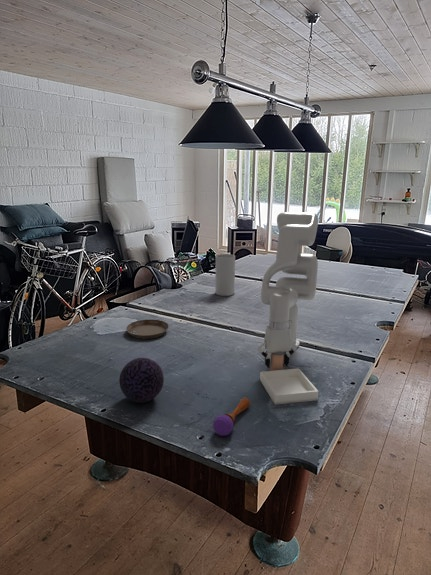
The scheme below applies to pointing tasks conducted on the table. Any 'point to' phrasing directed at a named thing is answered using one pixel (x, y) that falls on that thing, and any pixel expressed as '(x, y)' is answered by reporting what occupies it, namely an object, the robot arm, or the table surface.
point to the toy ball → (141, 380)
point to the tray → (288, 386)
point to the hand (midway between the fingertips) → (276, 365)
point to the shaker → (277, 361)
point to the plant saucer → (147, 328)
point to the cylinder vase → (225, 274)
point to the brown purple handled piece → (229, 419)
